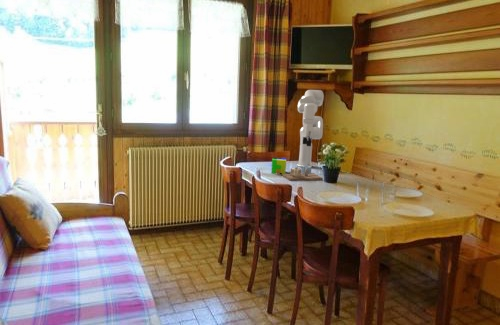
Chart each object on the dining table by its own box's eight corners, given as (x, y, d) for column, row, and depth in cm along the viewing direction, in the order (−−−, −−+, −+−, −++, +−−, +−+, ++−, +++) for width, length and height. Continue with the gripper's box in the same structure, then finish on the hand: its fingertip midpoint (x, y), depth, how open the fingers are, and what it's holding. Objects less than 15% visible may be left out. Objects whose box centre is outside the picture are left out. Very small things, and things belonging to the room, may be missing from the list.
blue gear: (299, 172, 290) (300, 165, 289) (308, 172, 292) (309, 165, 291) (303, 174, 283) (304, 167, 282) (312, 174, 285) (312, 167, 284)
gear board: (282, 175, 275) (283, 165, 274) (313, 175, 282) (314, 165, 280) (289, 180, 262) (290, 169, 260) (322, 180, 268) (323, 169, 267)
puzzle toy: (285, 171, 290) (286, 158, 288) (285, 174, 280) (286, 160, 278) (271, 170, 291) (272, 157, 289) (271, 173, 281) (272, 159, 279)
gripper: (300, 120, 287) (298, 143, 290) (307, 122, 270) (305, 146, 273) (310, 120, 288) (308, 143, 291) (317, 122, 271) (315, 147, 274)
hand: (306, 145), depth 282 cm, fingers open, 9 cm apart
